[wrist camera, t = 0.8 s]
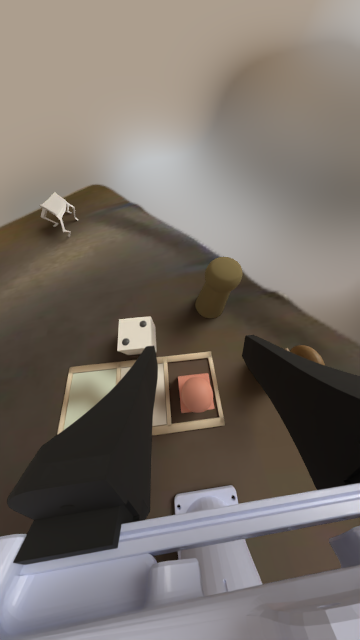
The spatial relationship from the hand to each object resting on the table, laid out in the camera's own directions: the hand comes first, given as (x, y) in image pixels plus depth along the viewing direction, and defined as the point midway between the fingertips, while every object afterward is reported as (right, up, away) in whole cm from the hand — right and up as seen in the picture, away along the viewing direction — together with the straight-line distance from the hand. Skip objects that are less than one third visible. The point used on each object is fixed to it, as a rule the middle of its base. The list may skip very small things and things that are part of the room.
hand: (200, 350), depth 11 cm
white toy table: (-32, +28, +27) cm, 51 cm away
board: (-8, -10, +11) cm, 17 cm away
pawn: (0, -9, +12) cm, 15 cm away
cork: (+5, +6, +18) cm, 19 cm away
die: (-9, -1, +15) cm, 17 cm away
